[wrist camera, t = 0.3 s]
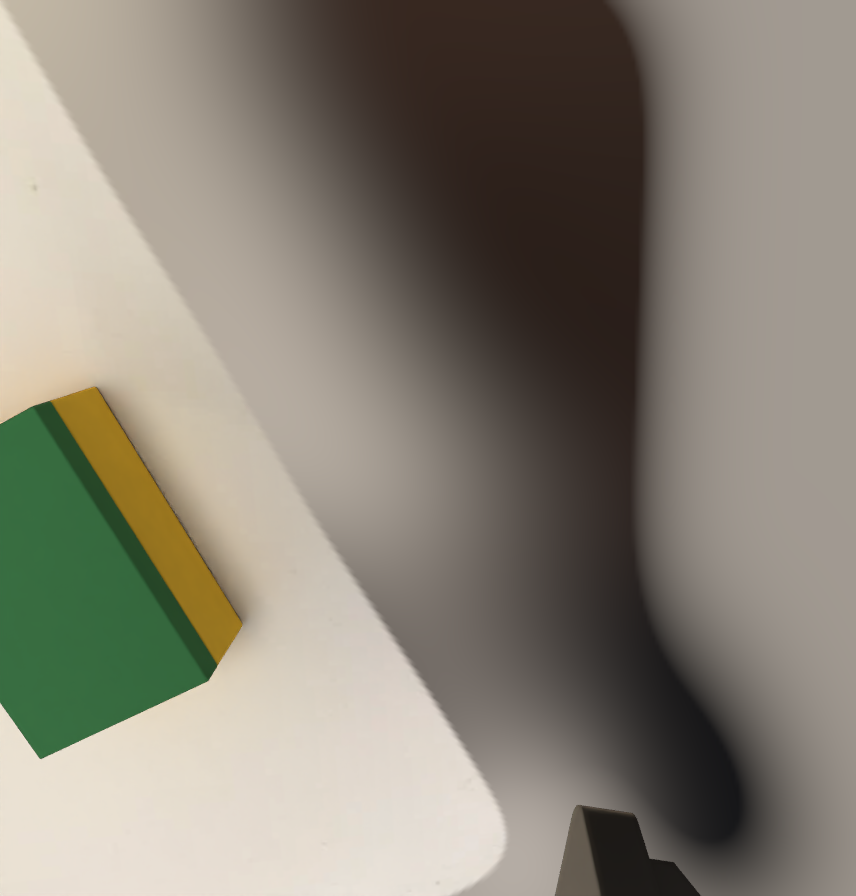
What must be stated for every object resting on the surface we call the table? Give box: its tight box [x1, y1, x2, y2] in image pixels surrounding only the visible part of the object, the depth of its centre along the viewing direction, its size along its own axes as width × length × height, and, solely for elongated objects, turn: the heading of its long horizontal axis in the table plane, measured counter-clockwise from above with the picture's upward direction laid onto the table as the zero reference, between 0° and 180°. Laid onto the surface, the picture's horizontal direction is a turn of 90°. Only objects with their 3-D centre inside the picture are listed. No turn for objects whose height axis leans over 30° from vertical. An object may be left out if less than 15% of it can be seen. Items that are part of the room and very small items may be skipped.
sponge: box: [0, 387, 242, 759], centre depth 23 cm, size 6×9×4 cm, turn 28°
